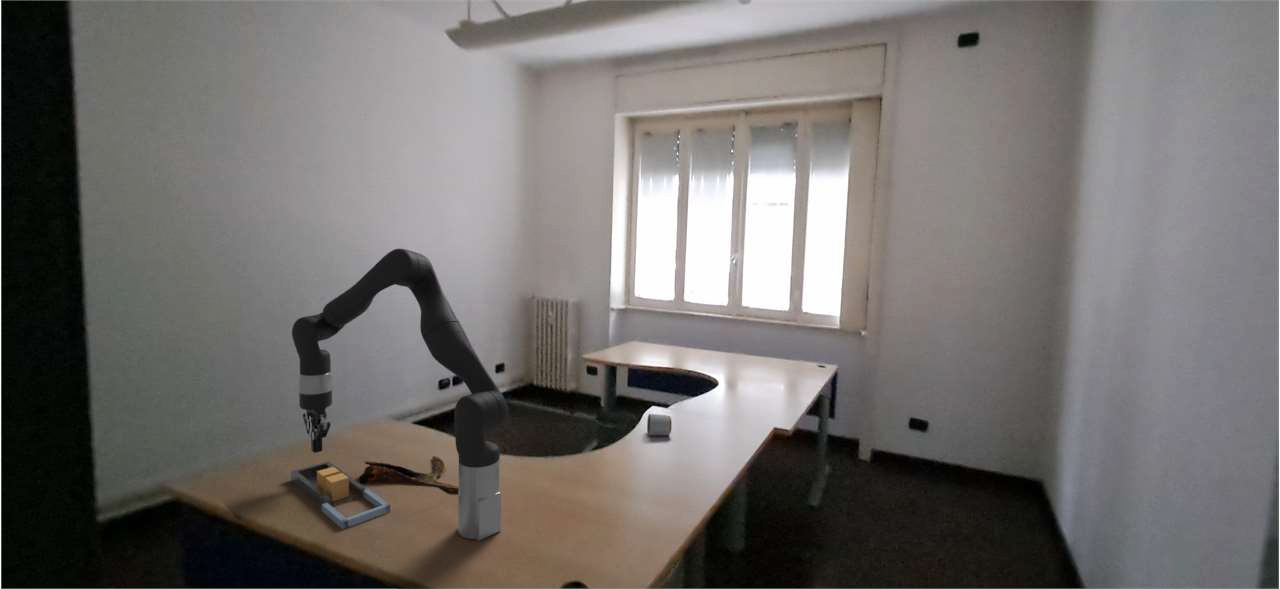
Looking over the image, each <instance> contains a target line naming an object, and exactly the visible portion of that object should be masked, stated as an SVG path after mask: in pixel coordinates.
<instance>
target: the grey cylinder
mask: <svg viewBox="0 0 1280 589" xmlns="http://www.w3.org/2000/svg"><path fill="white" fill-rule="evenodd" d="M646 424H647V425H646V428H647V430H646V431H647V435H648V436H650V437H651V436H653V437H655V436H661V437H662V436H664V437H665V436H669V435H670V434H671V432H672V424H673V423H672V418H671V416H670V415H666V414H657V413H656V414H654V413H648V416H647V422H646Z"/></svg>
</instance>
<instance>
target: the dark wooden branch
mask: <svg viewBox="0 0 1280 589" xmlns="http://www.w3.org/2000/svg"><path fill="white" fill-rule="evenodd" d="M432 461H433V466H432V467H433V470H432V472H431V473H430V472H429V473H423V472H419V471H414V470H412V469H409V468H406V467H403V466H400V465H395V464H390V463H386V462H377V461H368V460H367V461H364V464H365V465H367V466H366V467H365V468H364V470H363V473H362V474H361V475H359V479H358V483H360V484H366V483H370V484H386V483H387V484H405V485H413V486H414V485H416V486H424V487H433V488H434V487H436V488H438V489H439V490H441V491H442V492H444V493H446V494H458V493H459V486H458V485H457V486H456V485H452V484H449V483H444V482H440V481H438V480H439V479H440V478H441V477H442V476H444V474H445V472H446V469H447V468H446V466H445V464H444V463H445V462H444V461H443V460H442V459H441V458H440V457H438V456H435V455H434V456H432ZM368 465H369V466H368Z"/></svg>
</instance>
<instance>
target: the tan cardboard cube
mask: <svg viewBox="0 0 1280 589" xmlns="http://www.w3.org/2000/svg"><path fill="white" fill-rule="evenodd" d="M336 474H340V471H339V470H337V469H336V468H335V467H330V468H327V469H323V470H320V471H317V488H318V489H320V490H321V491H322V492H323V493H325V494H326V482H325V478H326V477H330V476H333V475H336Z"/></svg>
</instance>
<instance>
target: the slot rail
mask: <svg viewBox="0 0 1280 589" xmlns="http://www.w3.org/2000/svg"><path fill="white" fill-rule="evenodd" d="M330 467H335V468H336V469H337V470H339V471H340V473H343V474H344V475H346V476H347V477H349V496H348V497H345V498H342V499H339V500H336V501H333V502H332V501H331V499H330V497H328V496H327V495H326V494H325V493H323V492H322V491H321V490H320V489H318V488H317V471H320V470H323V469H327V468H330ZM290 481H291V482H292V483H293V484H295V486H297V487H298V489H300V490H302V492H304V493H305V494H306V495H307V496H309V497H310V499H312V500H313V501H314V502H316V503H317V504H318V505H319V506H320V507H321V508H322V504H324V503H328V504H329V505H331V506H332V507H333V508H335V507H336V508H337V507H339V506H341V505H344V504H347V503H350V502H353V501H357V500H359V499H362V498H364V497H363V491H364V490H366V487H365V486H364V485H362V483H359V481H357V480H356V479H354V478H352V477H351V476H350V475H349V474H347V473H345V472H344V471H343V470H342V469H340V468H338V467H337V466H336V465H335V464H333V463H332V462H331V461H329V460H328V461H324V462H321V463H318V464H314V465H310V466H306V467H302V468H299V469H294V470H292V471H290Z"/></svg>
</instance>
